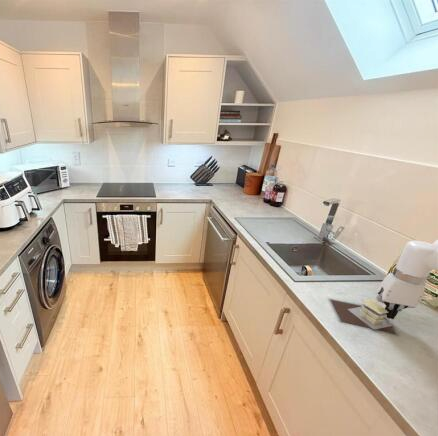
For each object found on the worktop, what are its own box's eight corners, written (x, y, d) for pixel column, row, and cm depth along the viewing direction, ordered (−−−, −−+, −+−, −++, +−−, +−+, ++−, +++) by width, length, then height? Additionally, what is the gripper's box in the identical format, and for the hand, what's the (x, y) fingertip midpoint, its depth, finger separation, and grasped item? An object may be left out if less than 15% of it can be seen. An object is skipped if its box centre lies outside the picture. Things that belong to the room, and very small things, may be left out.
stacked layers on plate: (393, 325, 86) (399, 314, 84) (373, 329, 85) (379, 318, 82) (365, 306, 95) (370, 295, 93) (347, 309, 94) (351, 298, 91)
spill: (378, 309, 94) (378, 309, 94) (395, 333, 83) (395, 333, 83) (330, 300, 99) (331, 299, 99) (341, 321, 88) (341, 321, 88)
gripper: (430, 273, 81) (408, 313, 88) (376, 265, 86) (359, 304, 93) (446, 287, 75) (421, 329, 82) (387, 277, 80) (368, 318, 87)
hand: (388, 316), depth 88 cm, fingers closed
